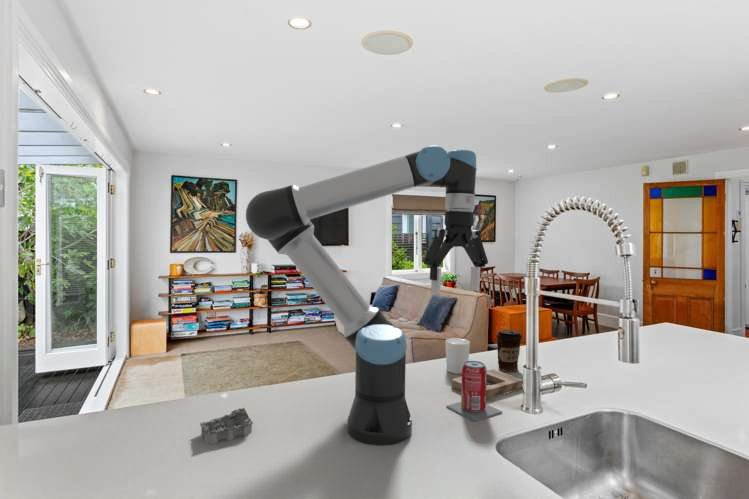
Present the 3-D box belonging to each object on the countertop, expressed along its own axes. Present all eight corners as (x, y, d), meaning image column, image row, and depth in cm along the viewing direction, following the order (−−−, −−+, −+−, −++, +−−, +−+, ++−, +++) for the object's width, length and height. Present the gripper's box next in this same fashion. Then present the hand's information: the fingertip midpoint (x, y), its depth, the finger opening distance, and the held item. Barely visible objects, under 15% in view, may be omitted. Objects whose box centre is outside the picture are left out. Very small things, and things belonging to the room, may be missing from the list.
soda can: (461, 412, 109) (462, 366, 108) (460, 402, 115) (461, 358, 115) (486, 415, 108) (488, 368, 107) (484, 404, 114) (485, 360, 114)
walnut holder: (480, 400, 118) (480, 391, 118) (451, 387, 127) (451, 379, 127) (523, 388, 128) (523, 380, 128) (493, 376, 137) (493, 369, 137)
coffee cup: (524, 374, 140) (526, 335, 139) (499, 373, 140) (500, 334, 140) (516, 365, 149) (517, 328, 148) (492, 365, 149) (493, 328, 148)
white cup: (462, 376, 137) (463, 345, 137) (440, 371, 142) (441, 341, 141) (472, 370, 143) (473, 340, 143) (451, 365, 148) (452, 336, 148)
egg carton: (246, 423, 103) (246, 406, 103) (254, 436, 97) (254, 418, 96) (199, 432, 98) (199, 415, 98) (204, 447, 91) (204, 428, 91)
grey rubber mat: (474, 421, 105) (474, 420, 105) (446, 407, 113) (446, 405, 113) (502, 412, 110) (502, 411, 110) (473, 399, 119) (473, 398, 119)
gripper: (430, 208, 102) (427, 296, 103) (503, 213, 115) (499, 291, 116) (412, 208, 108) (408, 291, 109) (483, 213, 121) (479, 287, 122)
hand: (455, 291), depth 113 cm, fingers open, 13 cm apart
